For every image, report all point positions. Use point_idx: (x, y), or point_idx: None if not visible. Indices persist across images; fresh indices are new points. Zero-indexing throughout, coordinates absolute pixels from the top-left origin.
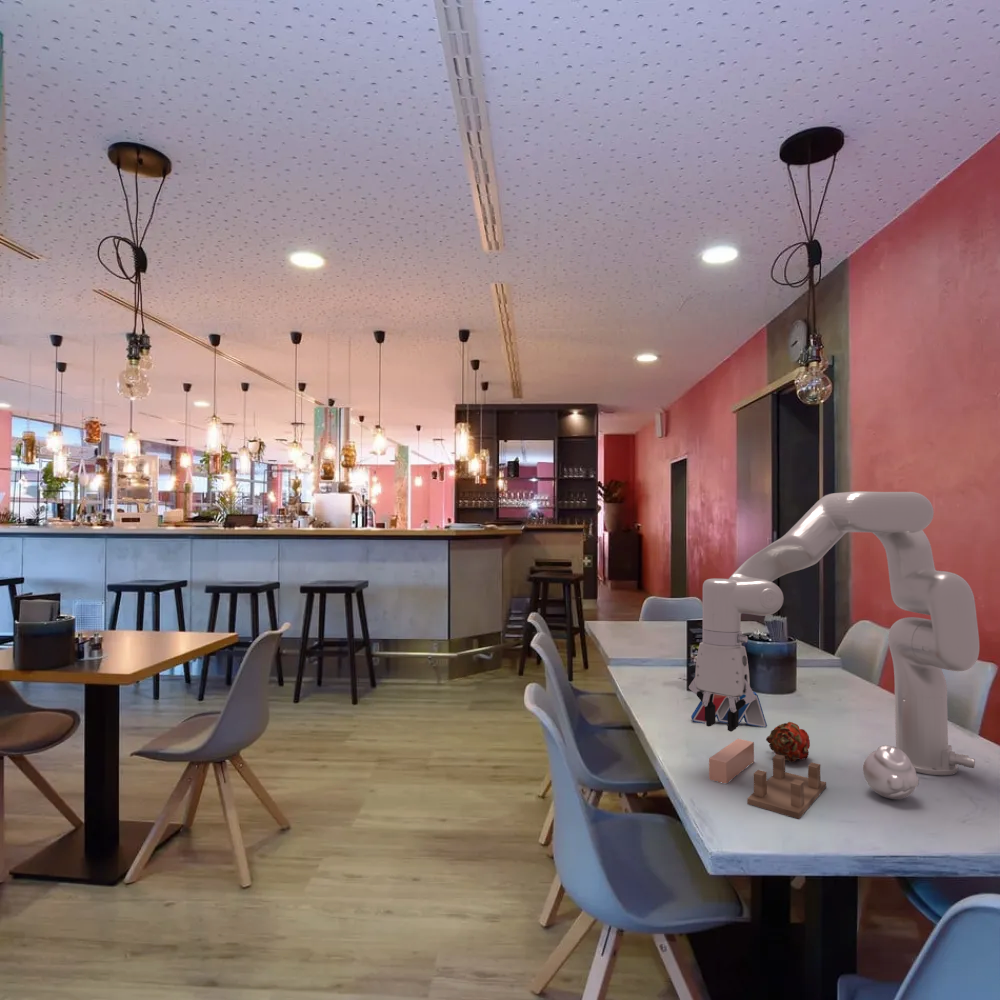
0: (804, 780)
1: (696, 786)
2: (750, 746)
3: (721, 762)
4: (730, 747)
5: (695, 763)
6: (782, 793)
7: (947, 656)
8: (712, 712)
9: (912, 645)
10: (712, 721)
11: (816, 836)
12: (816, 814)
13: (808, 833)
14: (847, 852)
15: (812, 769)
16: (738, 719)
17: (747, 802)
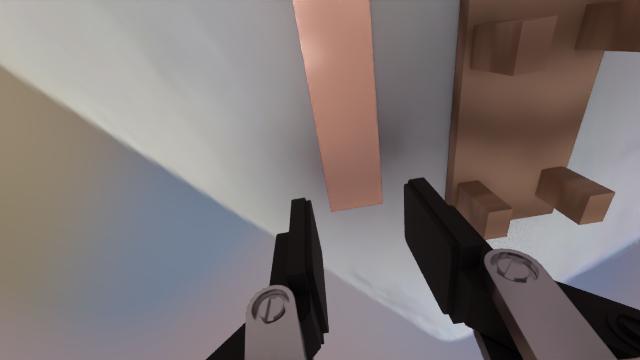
0: (563, 3)
1: (329, 230)
2: None
3: (368, 204)
4: (321, 61)
5: (232, 116)
6: (510, 152)
7: None
8: (321, 279)
9: None
10: (317, 240)
11: (572, 238)
12: (576, 163)
13: (559, 238)
14: (616, 247)
15: None
16: (467, 222)
17: None
